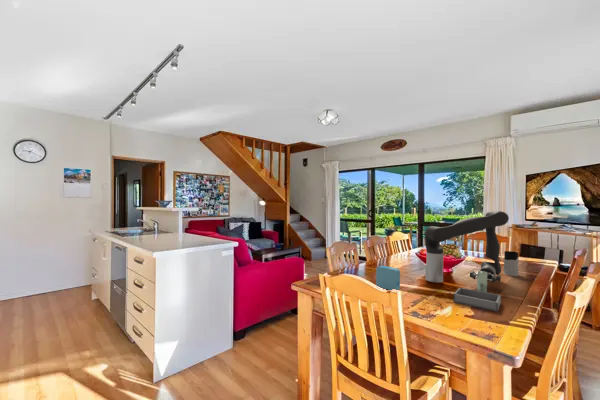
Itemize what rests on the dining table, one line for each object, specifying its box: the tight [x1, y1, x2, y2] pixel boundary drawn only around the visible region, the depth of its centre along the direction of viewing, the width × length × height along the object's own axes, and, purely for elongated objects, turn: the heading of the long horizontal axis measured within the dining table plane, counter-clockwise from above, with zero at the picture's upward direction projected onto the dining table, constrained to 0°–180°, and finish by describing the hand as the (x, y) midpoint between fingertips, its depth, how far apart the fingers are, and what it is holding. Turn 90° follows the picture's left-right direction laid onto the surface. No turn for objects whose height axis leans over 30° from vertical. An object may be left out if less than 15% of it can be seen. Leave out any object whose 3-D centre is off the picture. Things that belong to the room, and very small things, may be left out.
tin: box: [476, 270, 488, 293], centre depth 148 cm, size 4×4×12 cm
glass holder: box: [499, 250, 520, 277], centre depth 191 cm, size 9×14×15 cm, turn 57°
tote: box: [453, 287, 502, 313], centre depth 136 cm, size 18×14×4 cm
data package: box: [375, 265, 401, 291], centre depth 156 cm, size 12×4×12 cm, turn 45°
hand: (483, 279), depth 152 cm, fingers open, 8 cm apart
